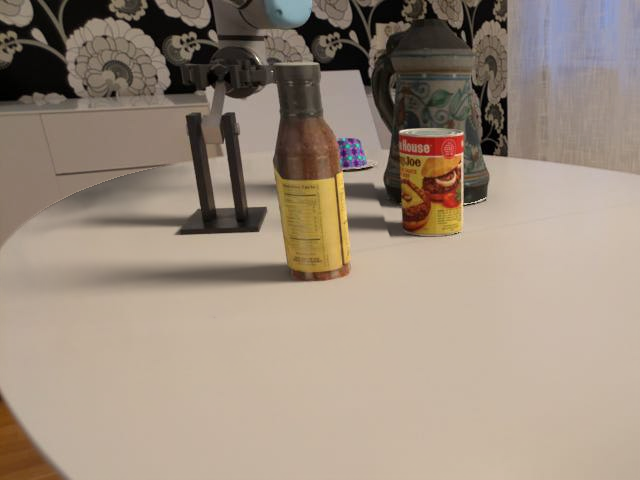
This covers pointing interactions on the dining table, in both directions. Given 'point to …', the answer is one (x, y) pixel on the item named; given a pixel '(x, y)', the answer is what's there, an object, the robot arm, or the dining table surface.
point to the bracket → (209, 215)
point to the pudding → (351, 153)
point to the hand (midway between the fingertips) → (215, 76)
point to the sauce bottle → (309, 178)
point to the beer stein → (429, 97)
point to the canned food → (431, 181)
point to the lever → (216, 105)
